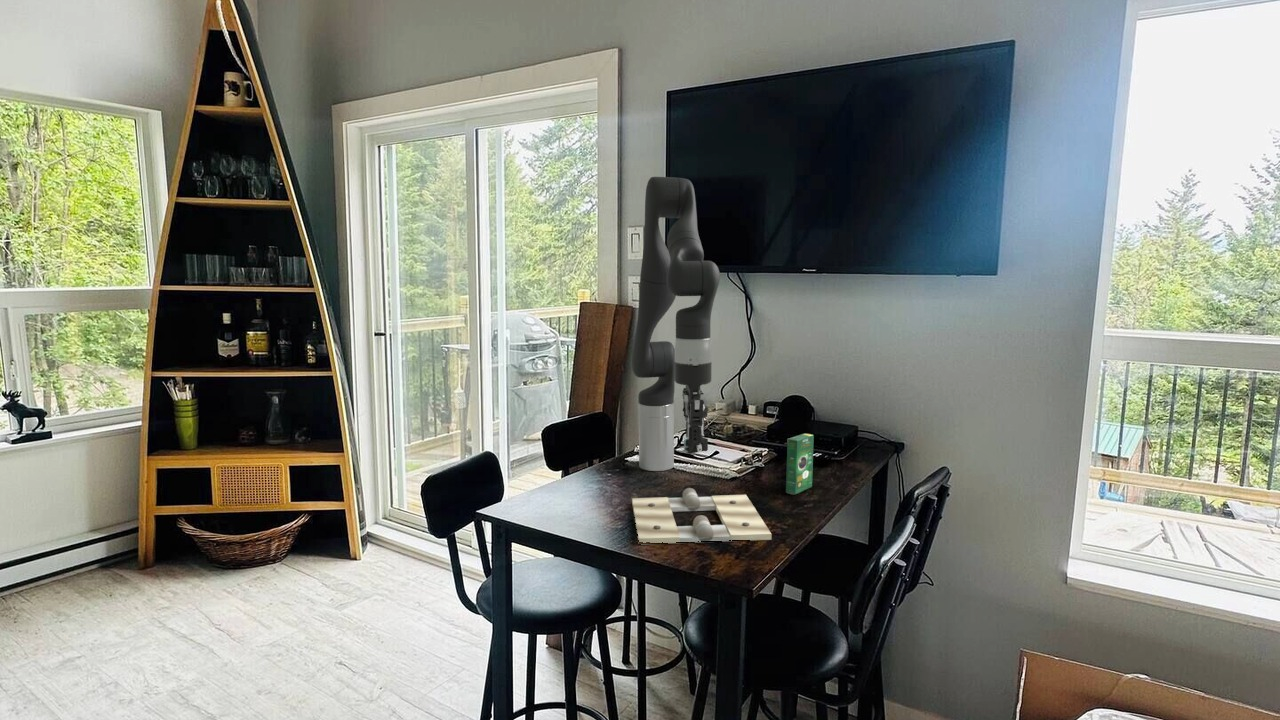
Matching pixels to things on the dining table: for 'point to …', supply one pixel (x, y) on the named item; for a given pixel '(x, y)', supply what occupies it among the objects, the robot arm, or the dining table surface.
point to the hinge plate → (698, 519)
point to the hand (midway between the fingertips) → (692, 441)
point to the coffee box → (799, 463)
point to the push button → (703, 441)
